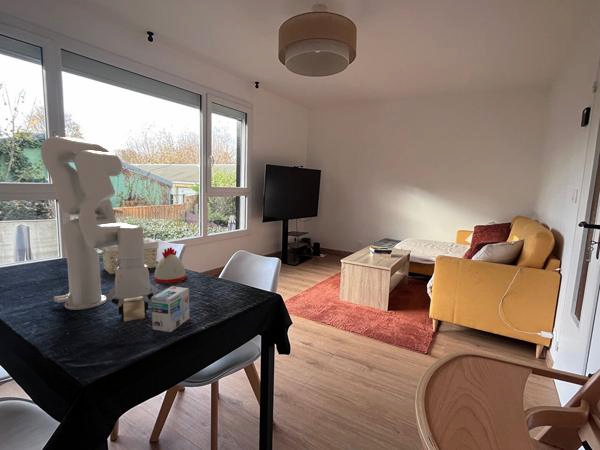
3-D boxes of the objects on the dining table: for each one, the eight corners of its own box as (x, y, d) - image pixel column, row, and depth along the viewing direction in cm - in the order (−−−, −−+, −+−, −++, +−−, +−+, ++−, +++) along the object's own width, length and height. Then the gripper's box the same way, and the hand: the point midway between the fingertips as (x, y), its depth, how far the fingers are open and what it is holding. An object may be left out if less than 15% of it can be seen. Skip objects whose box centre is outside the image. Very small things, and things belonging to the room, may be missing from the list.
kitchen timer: (147, 280, 140) (146, 248, 138) (169, 272, 152) (169, 243, 150) (170, 284, 135) (170, 252, 133) (192, 276, 147) (191, 246, 146)
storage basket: (150, 262, 172) (149, 236, 170) (160, 268, 160) (159, 240, 158) (100, 268, 155) (99, 240, 153) (108, 276, 144) (106, 246, 142)
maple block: (124, 321, 98) (123, 304, 97) (123, 314, 103) (122, 297, 102) (144, 317, 101) (144, 300, 100) (142, 311, 106) (142, 294, 105)
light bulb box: (170, 332, 92) (170, 299, 90) (151, 330, 93) (150, 296, 92) (190, 318, 102) (189, 287, 101) (172, 315, 103) (171, 285, 102)
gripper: (100, 268, 92) (103, 324, 94) (161, 262, 101) (163, 313, 104) (100, 262, 98) (103, 315, 101) (158, 257, 108) (159, 305, 110)
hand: (133, 313), depth 102 cm, fingers closed on maple block, 6 cm apart
